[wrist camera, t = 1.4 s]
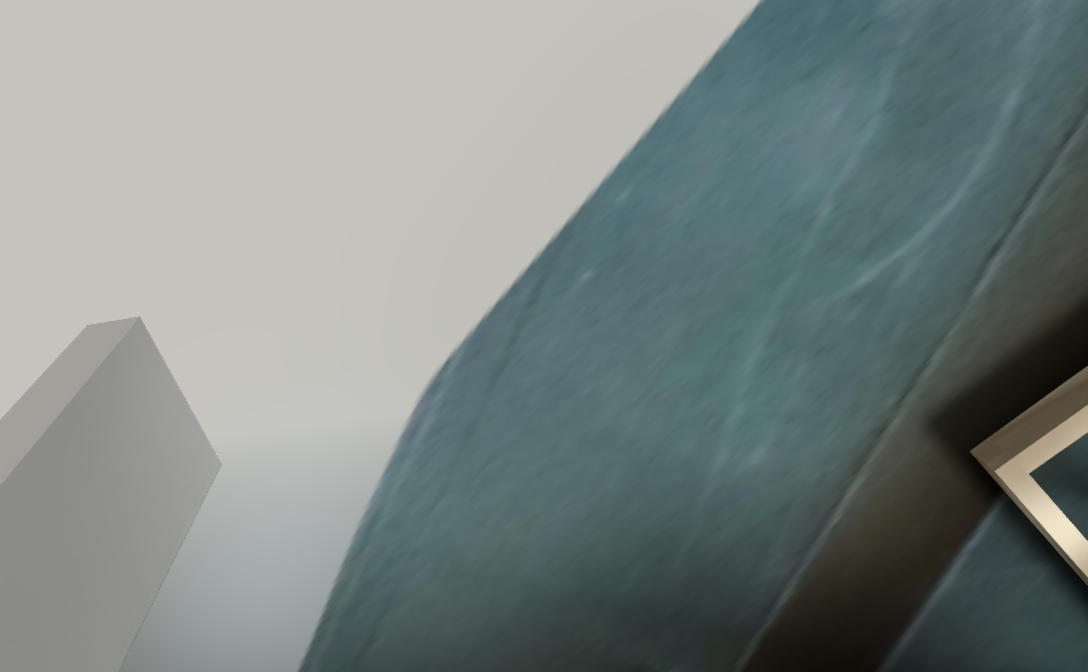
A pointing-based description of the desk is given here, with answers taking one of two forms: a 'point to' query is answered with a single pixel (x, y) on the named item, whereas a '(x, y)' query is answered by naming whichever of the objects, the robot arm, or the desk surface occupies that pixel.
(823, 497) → the desk surface
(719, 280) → the desk surface
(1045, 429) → the beige square frame
